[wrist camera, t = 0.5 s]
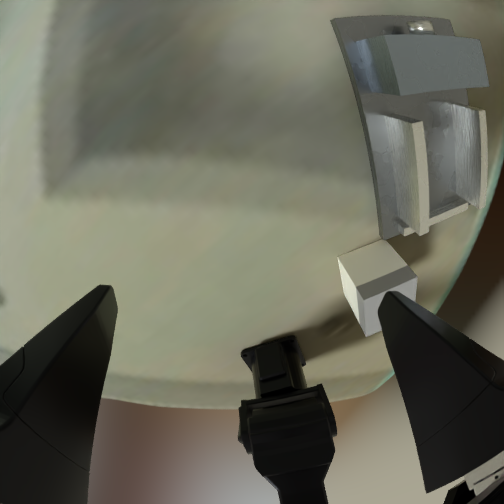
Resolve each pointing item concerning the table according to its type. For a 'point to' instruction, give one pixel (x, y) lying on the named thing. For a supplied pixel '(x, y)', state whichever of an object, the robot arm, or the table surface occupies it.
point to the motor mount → (418, 117)
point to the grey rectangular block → (374, 281)
